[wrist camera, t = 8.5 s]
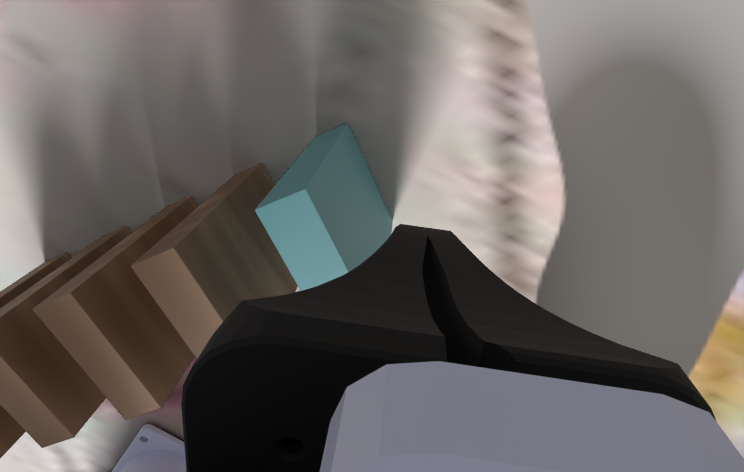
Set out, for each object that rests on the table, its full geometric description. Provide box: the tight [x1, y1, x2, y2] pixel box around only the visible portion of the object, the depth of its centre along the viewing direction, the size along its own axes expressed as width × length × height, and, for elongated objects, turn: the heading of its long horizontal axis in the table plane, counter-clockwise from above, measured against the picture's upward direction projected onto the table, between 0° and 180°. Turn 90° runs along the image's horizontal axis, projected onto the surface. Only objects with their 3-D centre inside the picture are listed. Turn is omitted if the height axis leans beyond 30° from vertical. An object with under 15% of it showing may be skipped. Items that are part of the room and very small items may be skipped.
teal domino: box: [255, 122, 393, 291], centre depth 18 cm, size 2×5×9 cm, turn 24°
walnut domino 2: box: [0, 226, 131, 448], centre depth 21 cm, size 2×5×9 cm, turn 25°
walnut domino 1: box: [0, 252, 71, 458], centre depth 22 cm, size 2×5×9 cm, turn 25°
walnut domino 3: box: [33, 196, 198, 420], centre depth 20 cm, size 2×5×9 cm, turn 25°
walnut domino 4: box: [131, 163, 298, 359], centre depth 19 cm, size 2×5×9 cm, turn 25°
